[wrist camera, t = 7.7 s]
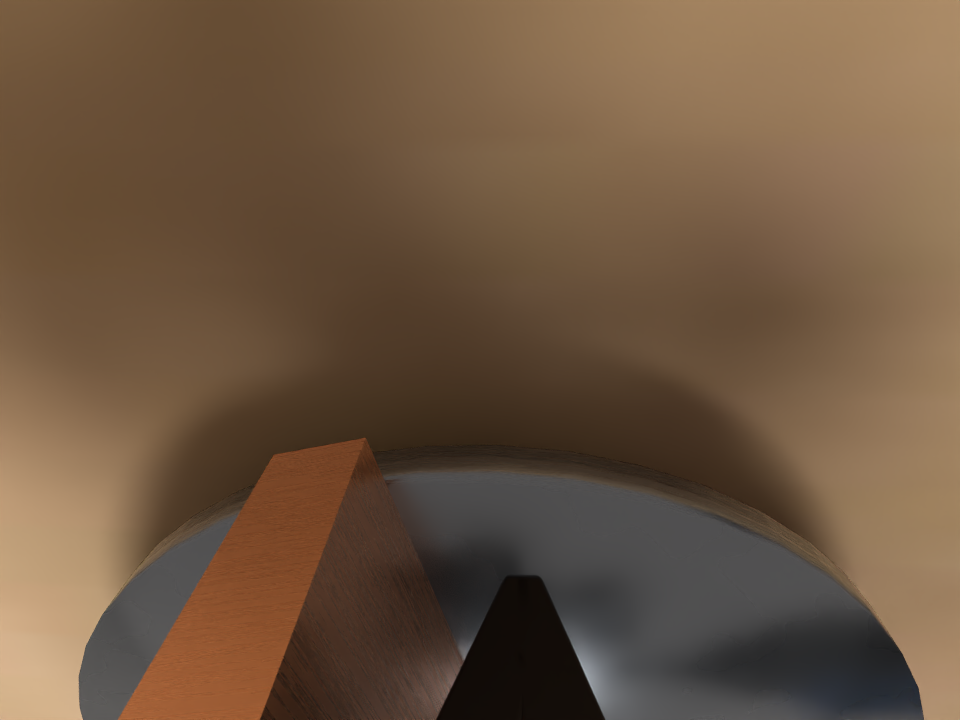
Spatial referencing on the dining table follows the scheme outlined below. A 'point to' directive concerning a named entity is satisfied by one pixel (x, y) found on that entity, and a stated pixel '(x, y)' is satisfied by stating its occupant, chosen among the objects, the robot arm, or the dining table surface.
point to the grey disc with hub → (484, 595)
